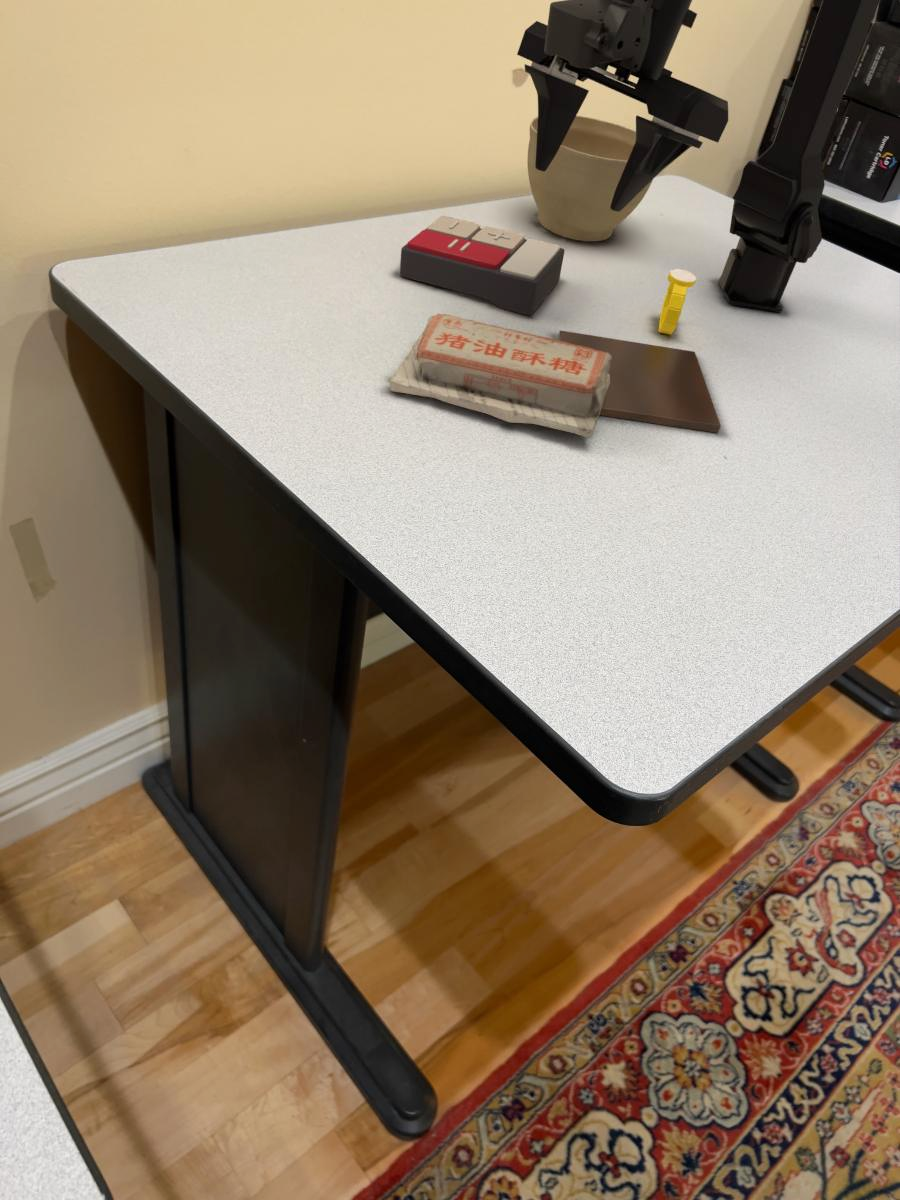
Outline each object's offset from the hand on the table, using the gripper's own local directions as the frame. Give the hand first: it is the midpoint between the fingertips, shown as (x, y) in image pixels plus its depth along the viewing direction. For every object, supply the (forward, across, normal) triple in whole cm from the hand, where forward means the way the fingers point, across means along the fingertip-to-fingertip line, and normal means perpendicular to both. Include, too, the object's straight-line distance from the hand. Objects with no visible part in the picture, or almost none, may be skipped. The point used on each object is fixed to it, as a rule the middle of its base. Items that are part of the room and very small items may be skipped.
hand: (576, 189), depth 76 cm
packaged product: (+17, +4, -5) cm, 18 cm away
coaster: (+14, +8, +9) cm, 18 cm away
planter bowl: (+8, -22, +31) cm, 39 cm away
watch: (+11, +2, +21) cm, 23 cm away
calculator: (+14, -15, +9) cm, 22 cm away
